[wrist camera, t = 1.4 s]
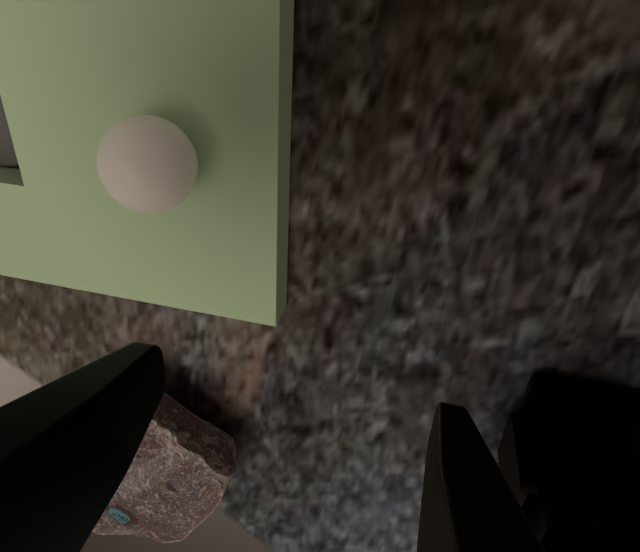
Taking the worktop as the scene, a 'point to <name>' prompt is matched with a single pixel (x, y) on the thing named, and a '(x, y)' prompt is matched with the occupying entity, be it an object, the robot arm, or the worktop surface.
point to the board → (166, 102)
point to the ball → (147, 163)
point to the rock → (172, 477)
